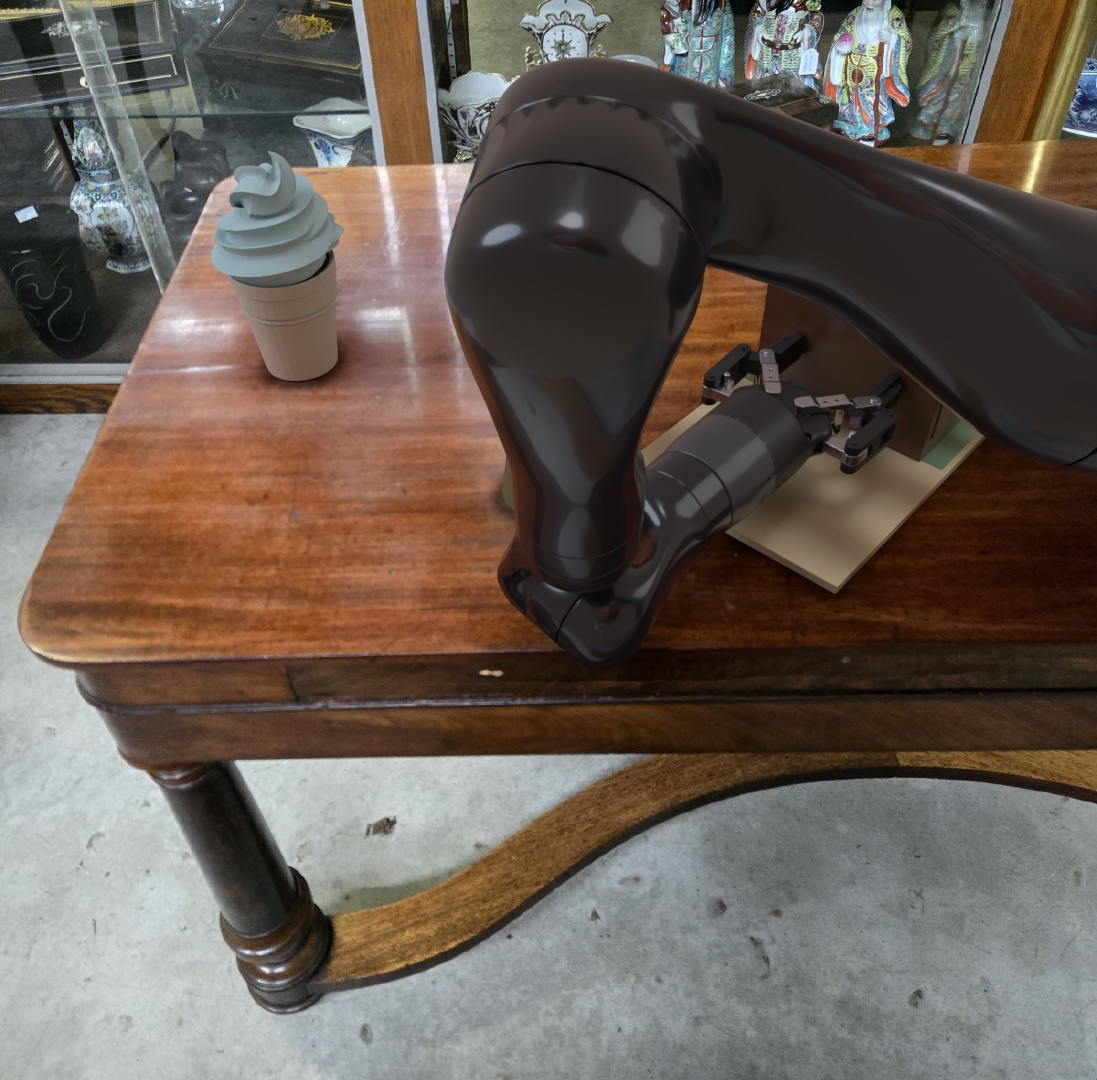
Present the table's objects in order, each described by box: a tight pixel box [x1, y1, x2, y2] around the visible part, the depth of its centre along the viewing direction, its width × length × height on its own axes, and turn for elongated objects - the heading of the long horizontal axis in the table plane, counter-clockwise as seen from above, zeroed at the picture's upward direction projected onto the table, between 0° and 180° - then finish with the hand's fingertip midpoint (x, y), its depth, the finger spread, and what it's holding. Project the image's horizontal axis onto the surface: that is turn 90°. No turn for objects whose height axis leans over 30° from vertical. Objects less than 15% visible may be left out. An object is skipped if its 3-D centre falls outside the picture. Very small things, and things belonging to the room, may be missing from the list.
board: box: [641, 374, 987, 595], centre depth 86 cm, size 28×20×1 cm
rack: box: [753, 284, 961, 462], centre depth 86 cm, size 10×16×12 cm, turn 48°
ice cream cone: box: [210, 150, 345, 382], centre depth 89 cm, size 10×11×20 cm
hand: (845, 363), depth 83 cm, fingers open, 8 cm apart
